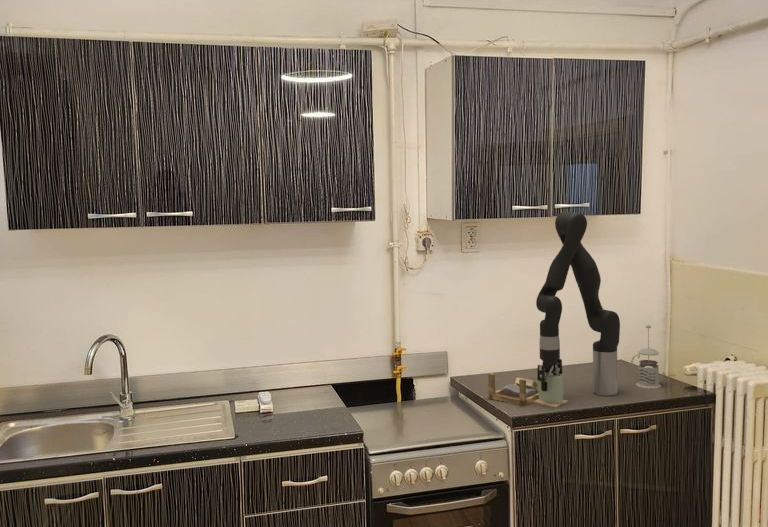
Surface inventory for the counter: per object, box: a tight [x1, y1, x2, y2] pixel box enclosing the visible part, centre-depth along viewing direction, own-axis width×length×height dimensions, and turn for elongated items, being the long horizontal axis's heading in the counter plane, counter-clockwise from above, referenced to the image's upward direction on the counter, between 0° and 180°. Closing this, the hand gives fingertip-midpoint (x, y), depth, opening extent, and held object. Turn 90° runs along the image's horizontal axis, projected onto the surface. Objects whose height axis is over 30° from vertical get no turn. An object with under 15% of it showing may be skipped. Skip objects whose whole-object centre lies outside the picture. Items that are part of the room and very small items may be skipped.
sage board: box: [538, 374, 564, 404], centre depth 267 cm, size 3×9×10 cm, turn 46°
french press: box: [630, 324, 662, 389], centre depth 286 cm, size 10×12×25 cm
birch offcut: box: [514, 377, 539, 394], centre depth 283 cm, size 6×8×2 cm
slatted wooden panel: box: [532, 399, 569, 408], centre depth 268 cm, size 9×10×1 cm
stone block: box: [501, 383, 537, 398], centre depth 278 cm, size 12×5×10 cm
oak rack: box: [487, 372, 539, 407], centre depth 276 cm, size 18×16×10 cm
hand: (550, 388), depth 268 cm, fingers open, 8 cm apart
